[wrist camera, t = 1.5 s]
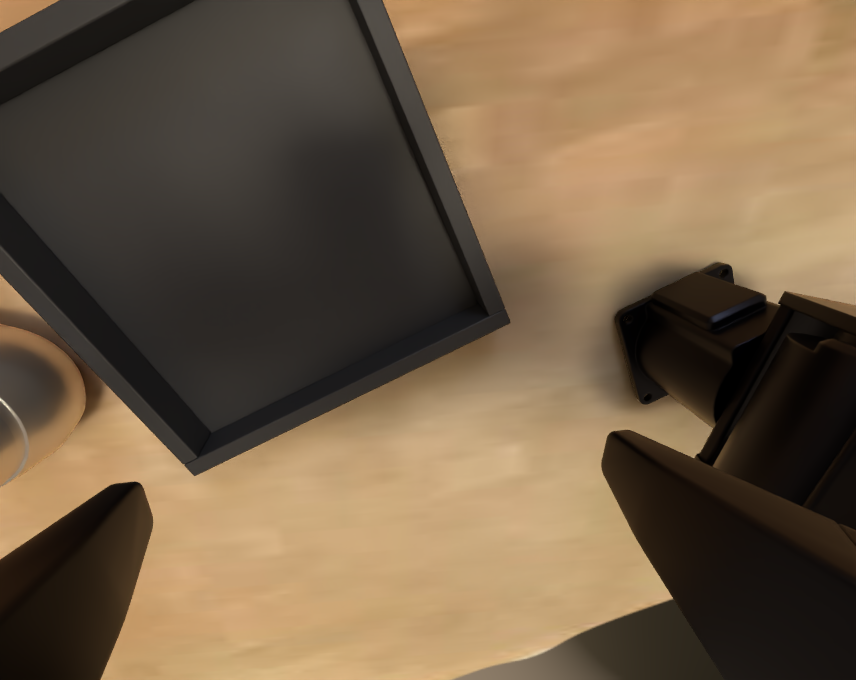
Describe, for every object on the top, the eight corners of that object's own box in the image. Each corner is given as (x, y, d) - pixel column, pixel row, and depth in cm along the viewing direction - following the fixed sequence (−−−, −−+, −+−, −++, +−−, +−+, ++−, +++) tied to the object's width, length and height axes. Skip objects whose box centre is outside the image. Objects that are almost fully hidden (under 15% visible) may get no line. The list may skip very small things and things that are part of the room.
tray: (495, 305, 21) (511, 323, 19) (211, 444, 22) (194, 477, 20) (329, -98, 14) (324, -146, 12) (-78, 121, 15) (-155, 114, 13)
